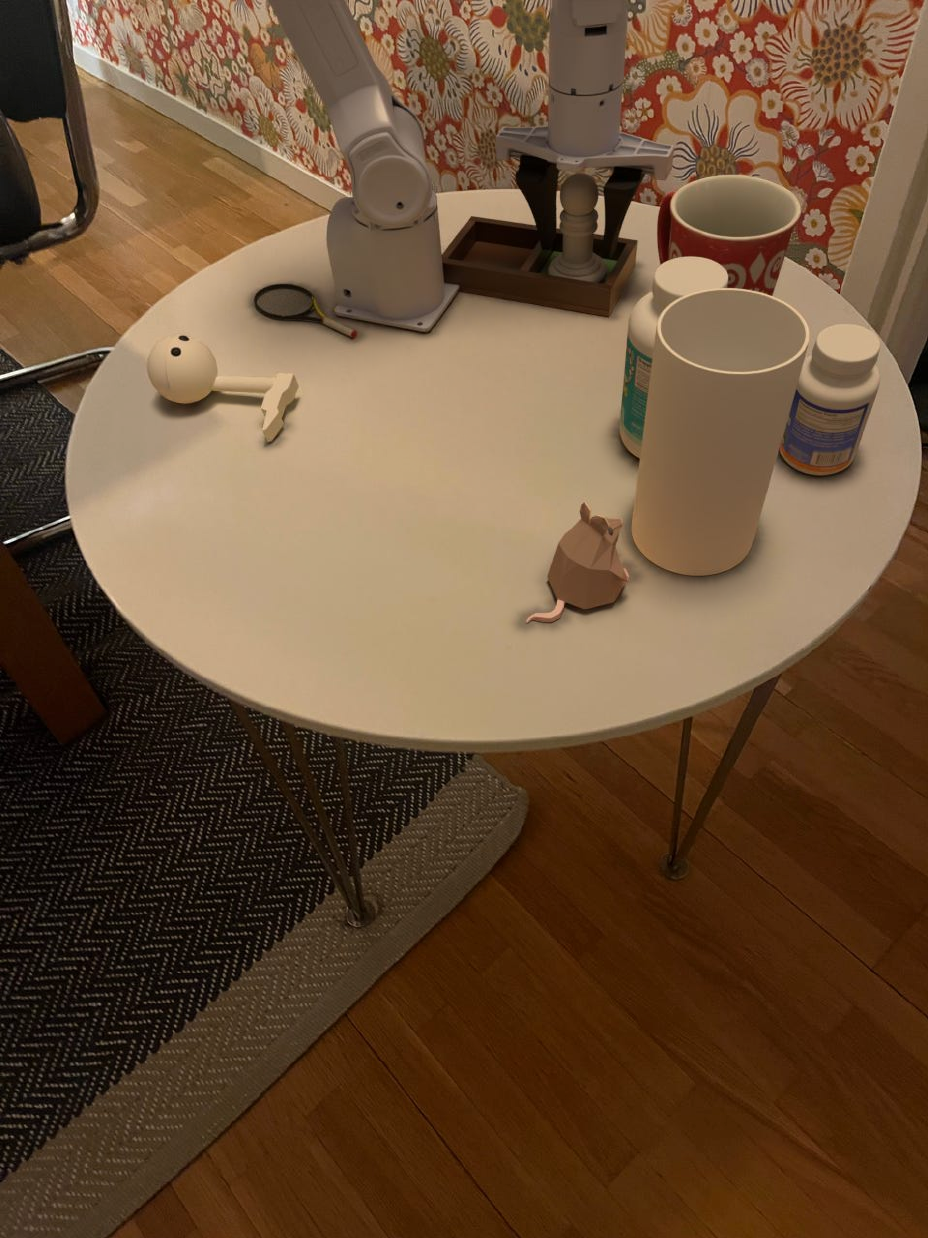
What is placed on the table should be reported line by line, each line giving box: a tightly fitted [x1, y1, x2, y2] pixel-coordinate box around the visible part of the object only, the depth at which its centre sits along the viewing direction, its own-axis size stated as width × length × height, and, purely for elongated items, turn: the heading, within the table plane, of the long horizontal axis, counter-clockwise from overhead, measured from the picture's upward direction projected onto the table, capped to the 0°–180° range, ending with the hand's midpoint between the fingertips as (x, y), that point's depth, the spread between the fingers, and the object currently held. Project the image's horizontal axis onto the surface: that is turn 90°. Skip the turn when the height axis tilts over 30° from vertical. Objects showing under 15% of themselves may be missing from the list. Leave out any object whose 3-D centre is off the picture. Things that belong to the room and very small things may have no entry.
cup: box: [631, 288, 810, 577], centre depth 55 cm, size 8×8×16 cm
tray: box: [442, 215, 639, 317], centre depth 81 cm, size 9×16×3 cm, turn 68°
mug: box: [656, 174, 802, 297], centre depth 68 cm, size 13×9×14 cm
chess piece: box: [548, 172, 607, 283], centre depth 77 cm, size 5×5×9 cm
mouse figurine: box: [525, 501, 630, 624], centre depth 56 cm, size 5×8×7 cm, turn 127°
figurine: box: [146, 333, 300, 443], centre depth 71 cm, size 8×6×12 cm
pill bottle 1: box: [619, 257, 728, 459], centre depth 62 cm, size 8×7×14 cm
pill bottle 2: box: [779, 323, 881, 476], centre depth 61 cm, size 5×5×10 cm
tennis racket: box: [253, 283, 358, 339], centre depth 81 cm, size 12×1×5 cm
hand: (578, 248), depth 79 cm, fingers open, 5 cm apart
